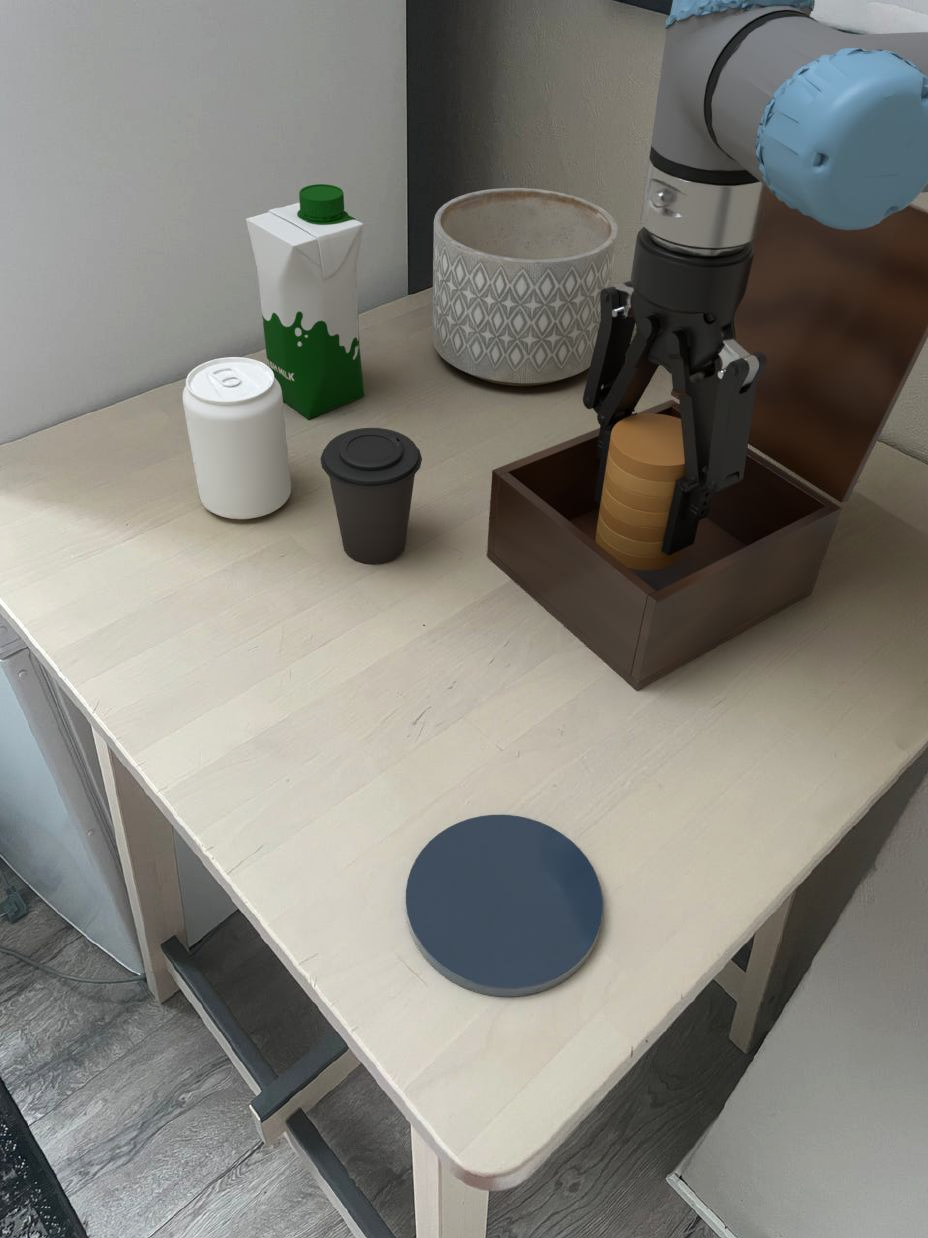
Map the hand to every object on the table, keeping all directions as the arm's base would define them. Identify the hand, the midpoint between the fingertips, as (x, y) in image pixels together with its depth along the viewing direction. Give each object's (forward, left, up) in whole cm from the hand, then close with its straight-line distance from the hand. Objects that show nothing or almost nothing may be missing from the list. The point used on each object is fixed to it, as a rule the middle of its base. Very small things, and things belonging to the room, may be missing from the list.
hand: (643, 521), depth 81 cm
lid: (0, -14, +13) cm, 19 cm away
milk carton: (+40, +7, -7) cm, 41 cm away
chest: (0, -2, -7) cm, 7 cm away
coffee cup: (+16, +15, -7) cm, 23 cm away
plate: (-18, +27, -7) cm, 33 cm away
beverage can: (+28, +21, -7) cm, 36 cm away
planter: (+36, -16, -7) cm, 40 cm away
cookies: (0, 0, -2) cm, 2 cm away
